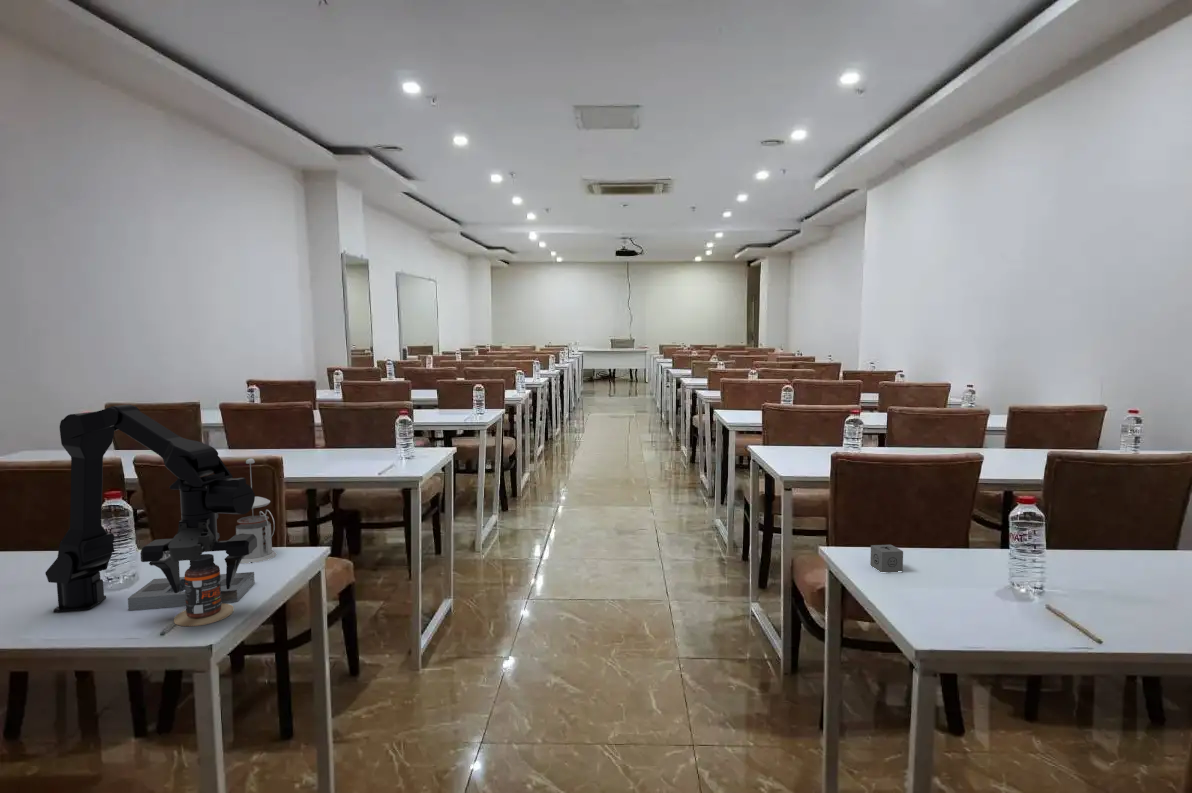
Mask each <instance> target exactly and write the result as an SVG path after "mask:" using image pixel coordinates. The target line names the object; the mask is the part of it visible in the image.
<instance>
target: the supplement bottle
mask: <svg viewBox="0 0 1192 793" xmlns="http://www.w3.org/2000/svg"><path fill="white" fill-rule="evenodd" d="M220 574H221V569H220V567H219V565H218V564H216V563H215V558H214V554H210V553H204V554H203V553H202V555H201V557H200V558H199V559H198V560H195V561H190V560H189V567H188V568H187V569H186V570H185V572H184V577H185V590H184V592H185V598H186V606H185V610H186V614H187V616H188V617H191V618H204V617H208V616H212V615H214V614H216V613H218V612H219V611H220V610H221V598H222V597H221V583H220Z"/></svg>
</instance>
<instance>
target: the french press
mask: <svg viewBox="0 0 1192 793" xmlns="http://www.w3.org/2000/svg"><path fill="white" fill-rule="evenodd" d="M255 462H256V461H255V459H254V458H248V459H246V460H245V464H247V465H248V464H249V474H250V476H249V477H250V487H251V488H252V489H253V482H252V481H253V480H252V477H253V476H252V464H255ZM270 503H271V500H270V499H268V498H266V497H262V496H255V500H254V504H253V507H252V508H251V512H252V515H249V516H243V517H241V518H239V519H237V520H236V523H237V524H238V525H236V526H235V535H242V534H254V535H255V536H256V538H257V547H256V548H255V549H254V550H253V551H252V552H251V553H250V554H249V555H246V556H245V557H244V558H243V559H242V560H241V562H240V564H242V563H246V564H250V563H249V562H256V563H260V562H259V561H262V562H264V561H263V560H265V561H269V560H271V559H273V558H275V557H276V556H277V552H276V551H275V550H274V549H273V544H272V543H273V542H272V537H273V535H274V533H275V528H276V526H275V524H276V523H275V519H274V517H273V514H272V513H271V511H270V510H269V509H265V513H264V512H263V511H262V510H259V515H257V514H256V515H254V509H256V508H258V509H259V508H263V507H266V506H268V505H270ZM268 513H269V515H270V516H271V519H272V522H273V530H272V526H271V525H272V523H271V522H270V521H269V519H270V516H267V514H268ZM264 533H265V534H264ZM264 543H265V544H264ZM270 558H271V559H270ZM268 559H269V560H268Z"/></svg>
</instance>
